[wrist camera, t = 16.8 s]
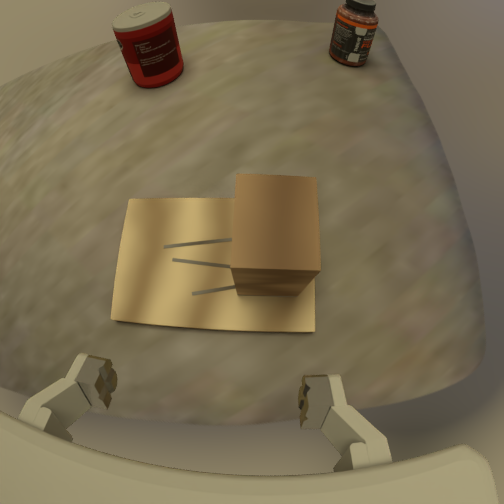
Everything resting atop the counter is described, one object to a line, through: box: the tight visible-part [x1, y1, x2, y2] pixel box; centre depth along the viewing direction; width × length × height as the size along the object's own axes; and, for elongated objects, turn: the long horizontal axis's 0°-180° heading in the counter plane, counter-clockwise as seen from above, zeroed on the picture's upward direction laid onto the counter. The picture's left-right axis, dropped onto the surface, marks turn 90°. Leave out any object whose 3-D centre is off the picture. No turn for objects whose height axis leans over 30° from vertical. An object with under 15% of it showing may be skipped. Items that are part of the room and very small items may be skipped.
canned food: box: [112, 2, 183, 88], centre depth 31 cm, size 8×8×11 cm
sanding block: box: [230, 174, 321, 297], centre depth 22 cm, size 5×6×9 cm
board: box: [111, 198, 315, 332], centre depth 27 cm, size 18×12×1 cm, turn 88°
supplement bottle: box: [329, 0, 378, 66], centre depth 32 cm, size 6×6×11 cm
